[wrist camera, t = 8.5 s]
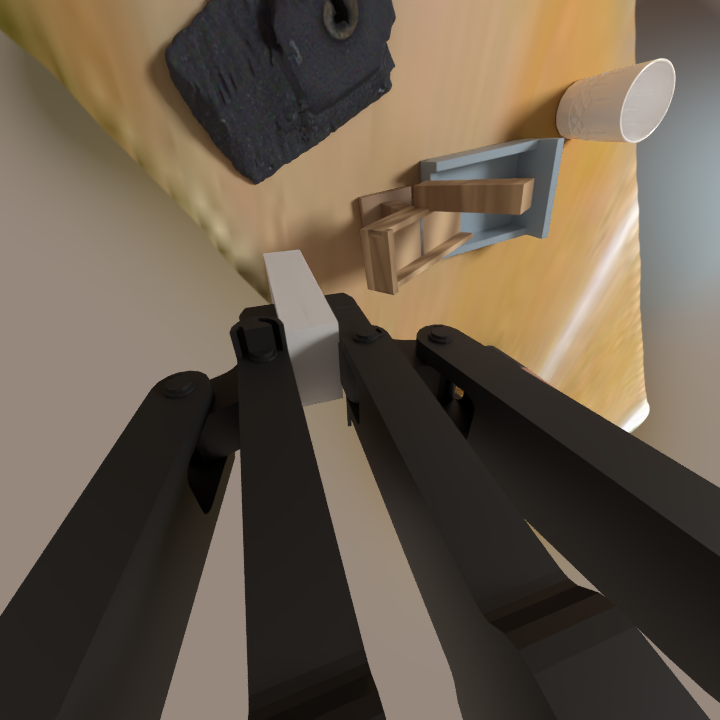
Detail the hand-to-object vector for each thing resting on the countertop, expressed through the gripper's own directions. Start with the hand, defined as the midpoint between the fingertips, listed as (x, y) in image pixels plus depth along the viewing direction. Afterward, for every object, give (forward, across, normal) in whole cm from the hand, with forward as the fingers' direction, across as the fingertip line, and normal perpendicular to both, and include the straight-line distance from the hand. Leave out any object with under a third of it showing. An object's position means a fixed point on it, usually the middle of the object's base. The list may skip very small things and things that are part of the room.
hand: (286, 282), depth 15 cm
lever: (+22, +17, -4) cm, 28 cm away
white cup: (+33, +45, +6) cm, 57 cm away
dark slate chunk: (+32, +6, +10) cm, 34 cm away
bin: (+32, +30, -4) cm, 44 cm away
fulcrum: (+31, +17, -6) cm, 36 cm away
